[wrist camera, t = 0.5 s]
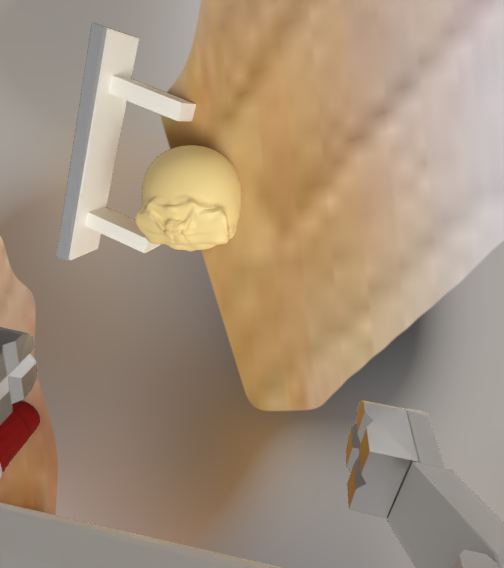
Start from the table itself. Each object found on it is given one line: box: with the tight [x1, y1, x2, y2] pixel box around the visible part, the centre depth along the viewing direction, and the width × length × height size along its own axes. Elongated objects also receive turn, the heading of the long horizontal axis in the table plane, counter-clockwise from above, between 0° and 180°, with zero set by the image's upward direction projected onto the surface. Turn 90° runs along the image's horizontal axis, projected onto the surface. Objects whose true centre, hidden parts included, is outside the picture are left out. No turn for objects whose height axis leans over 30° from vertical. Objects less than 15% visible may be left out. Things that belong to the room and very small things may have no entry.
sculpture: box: [135, 145, 242, 251], centre depth 51 cm, size 11×12×11 cm
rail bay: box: [56, 23, 196, 261], centre depth 54 cm, size 28×11×7 cm, turn 161°
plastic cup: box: [0, 402, 40, 478], centre depth 75 cm, size 11×11×12 cm
